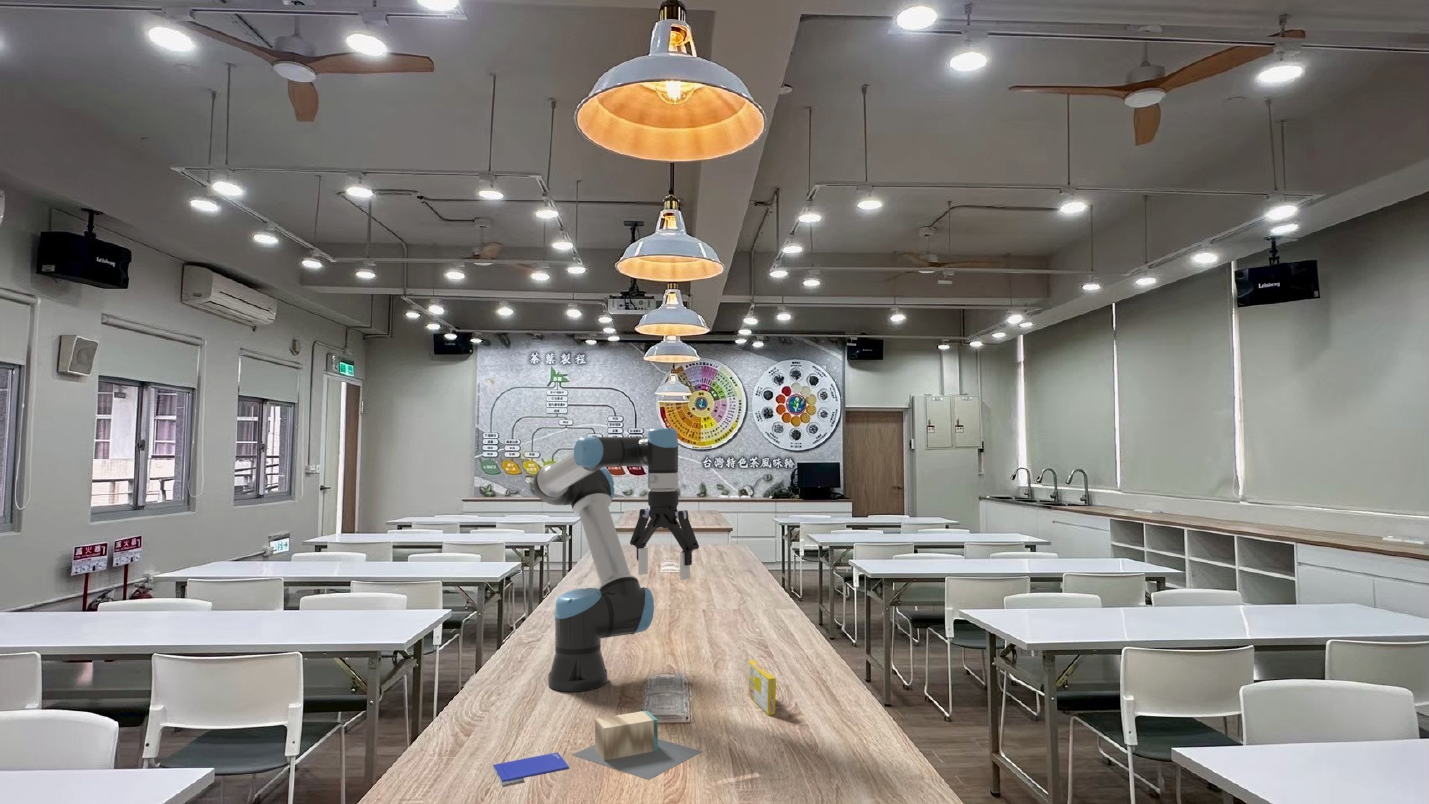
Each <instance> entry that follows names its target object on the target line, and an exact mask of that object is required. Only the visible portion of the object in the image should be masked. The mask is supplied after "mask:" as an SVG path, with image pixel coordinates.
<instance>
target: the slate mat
mask: <svg viewBox="0 0 1429 804" xmlns="http://www.w3.org/2000/svg"><path fill="white" fill-rule="evenodd" d="M701 753H703V751H702V750H700V749H695V748H692V747H689V746H686V745H681V744H678V743H674V742H670V741H666V740H663V739H660V738H658V751H653V752H648V753H643V754H637V755H632V756H626V757H621V758H615V759H610V760H603V759H602V758H601V756H600V755H599V754H598V753H597V751H596V750H595V744H594V745H591V746H589V747H586V748H584V749H582V750H579V751H577V752H575V753H573V754H571V756H574V757H577V758H579V759H581V760H582V759H583V760H586V761H589V762H592V763H595V764H598V765H601V766H604V767H607V768H610V769H614V770H617V771H619V772H623V773H626V774H630V775H633V776H635V777H639V778H641V779H645V780H648V781H650V780H651V779H654V778H655V777H657V776H659V775H661V774H663V773H665V772H667V771H669V770H670V769H673V768H674V767H676V766H678V765H680V764H682V763H684V762H685V761H687V760H689V759H691V758H693V757H695V756H696V755H699V754H701Z"/></svg>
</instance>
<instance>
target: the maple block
mask: <svg viewBox="0 0 1429 804" xmlns="http://www.w3.org/2000/svg"><path fill="white" fill-rule="evenodd" d="M658 727H659V726H658V718H657V717H655V716H654V715H653V714H652V713H651V712H649V711H648V710H643V711H636V712H631V713H623V714H617V715H611V716H603V717H600V718H599V717H597V718H595V719H594V745H595V750H596V751H597V753H598V754H599V755H600V756H601V758H602V759H603V760H610V759H615V758H621V757H626V756H632V755H637V754H643V753H648V752H653V751H658V739H659V738H658V737H659V736H658V734H659V733H658V731H659V730H658V729H659V728H658Z"/></svg>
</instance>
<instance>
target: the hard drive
mask: <svg viewBox="0 0 1429 804" xmlns="http://www.w3.org/2000/svg"><path fill="white" fill-rule="evenodd" d="M559 753H560V752H552V753H547V754H542V755H537V756H532V757H527V758H520V759H516V760H515V759H514V760H511V761H506V762H502V763H496V764H493V765H492V770H493V769H494V770H493V772H494V771H495V772H494V773H496V774H497V775H496V774H495V775H496V777H497V776H498V777H497V779H498V778H499V779H500V781H499V783H500V782H501V783H500V785H501V786H505V785H506V784H507V785H511V784H510V783H512V784H515V783H514V782H517V783H519V782H518V781H522V782H524V781H523V780H525V778H529V777H533V776H538V775H544V774H548V773H554V772H559V771H564V770H568V769H570V766H569V764H568V763H567V762H566V761H565V759H564V758H563V756H561V754H559ZM499 779H498V780H499Z"/></svg>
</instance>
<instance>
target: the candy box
mask: <svg viewBox="0 0 1429 804" xmlns="http://www.w3.org/2000/svg"><path fill="white" fill-rule="evenodd" d="M776 683H777V678H776V677H775V676H773V674H771V673H769V672H768V671H767V670H766V669H765V668H764V667H762V666H761V665H760V664H759V663H758V662H757V661H755V660H748V661H747V695H748V696H749V697H750V698H751V699H752V701H754V702H755V704H756V705H757V706H758V707H759V708H760V709H761V710H762V711H763V712H764V713H765V714H766V715H767V716H775V715H776V701H777V700H776V696H777V692H776V690H777V685H776Z"/></svg>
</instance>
